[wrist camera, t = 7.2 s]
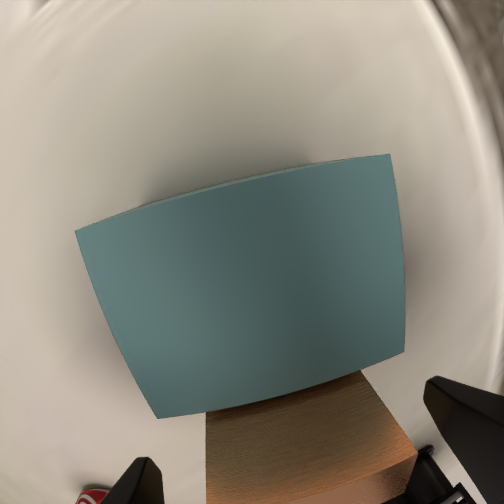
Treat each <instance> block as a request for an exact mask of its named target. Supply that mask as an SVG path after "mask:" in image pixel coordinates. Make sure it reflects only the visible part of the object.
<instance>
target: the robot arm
mask: <svg viewBox="0 0 504 504" xmlns="http://www.w3.org/2000/svg"><path fill="white" fill-rule="evenodd" d="M423 400H424V403H425V405H426V407H427V409H428V411H429V413H430V414H431V416H432V418H433V420H434V422H435V424H436V426H437V428H438V430H439V431H440V433H441V435H442V437H443V438H444V440H445V441H446V442H447V444H448V445H449V447H450V448H451V450H452V451H453V453H454V454H455V456H456V457H457V458H458V460H459V461H460V463H461V464H462V466H463V467H464V469H465V470H466V472H467V473H468V475H469V476H470V478H471V479H472V481H473V482H474V484H475V485H476V487H477V488H478V490H479V492H480V493H481V495H482V496H483V498H484V499H485V501H486V502H487V504H504V396H501V395H498V394H494V393H491V392H488V391H484V390H481V389H478V388H475V387H471V386H468V385H465V384H462V383H459V382H456V381H453V380H450V379H447V378H444V377H441V376H434V377H432V378H430V379H429V380H427V381H426V384H425V390H424V395H423ZM433 450H434V447H433V446H432V445H430V446H428V447H426V448H425V449H423V450H421V451H419V452H418V455H417V458H416V461H415V464H414V467H413V470H412V473H411V476H410V478H409V481H408V484H407V486H406V489H405V491H404V493H402V494H400V495H398V496H396V497H394V498H392V499H390V500H388V501H385V502H383V503H381V504H476V502H475V501H474V500H473V498H472V497H471V496H470V494H469V493H468V492H467V491H466V489H465V488H464V487H463V485H462V484H461V483H460V482H459V483H458V484H457V485H456V486H455V487H454V488H453V486H452V485H451V483H450V482H449V480H448V479H447V478H446V476H445V475H444V473H443V472H442V471H441V469H440V468H439V466H438V465H437V464H436V462H435V461H434V459H433V458H432V457H431V455H432V453H433ZM460 497H462V498H463V499H462V500H460V501H459V502H458V503H457V501H456V500H457V499H458V498H460ZM99 504H165V503H164V493H163V482H162V473H161V471H160V469H159V468H158V467H157V466H156V464H155V463H154V462H153V461H152V459H151V458H149V457H138V458H136V459H135V460H134V461H133V463H132V464H131V465H130V466H129V468H128V469H127V470H126V471H125V473H124V474H123V475H122V476H121V478H120V479H119V480H118V481H117V482H116V484H115V485H114V486H113V487H112V489H111V490H110V491H109V492H108V493H107V495H106V496H105V497H104V498H103V499H102V501H101V502H100V503H99Z"/></svg>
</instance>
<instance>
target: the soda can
mask: <svg viewBox="0 0 504 504" xmlns="http://www.w3.org/2000/svg"><path fill="white" fill-rule="evenodd" d="M109 491H110V490H107V489H101V488H95V489H87V490H83V491H81V493H80V495H79V497H78V499H77V501H76V504H99V503H100V502H101V501H102V499H103V498H104V497H105V496H106V495H107V493H108V492H109Z"/></svg>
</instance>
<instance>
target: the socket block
mask: <svg viewBox="0 0 504 504" xmlns="http://www.w3.org/2000/svg"><path fill="white" fill-rule="evenodd" d="M75 234H76V237H77V240H78V244H79V247H80V250H81V253H82V256H83V259H84V262H85V265H86V268H87V271H88V274H89V277H90V279H91V282H92V285H93V288H94V290H95V293H96V295H97V298H98V300H99V303H100V306H101V308H102V310H103V313H104V315H105V318H106V320H107V322H108V325H109V327H110V329H111V331H112V334H113V336H114V338H115V340H116V342H117V345H118V347H119V349H120V351H121V353H122V355H123V357H124V359H125V361H126V363H127V365H128V367H129V369H130V371H131V373H132V375H133V377H134V379H135V380H136V382H137V384H138V386H139V388H140V390H141V392H142V393H143V395H144V397H145V399H146V400H147V402H148V404H149V406H150V407H151V409H152V411H153V412H154V414H155V416H156V417H157V419H160V418H169V417H176V416H184V415H190V414H197V413H203V412H208V411H214V410H219V409H225V408H230V407H234V406H239V405H244V404H248V403H252V402H257V401H261V400H265V399H269V398H273V397H277V396H280V395H284V394H288V393H291V392H295V391H298V390H302V389H305V388H308V387H312V386H315V385H318V384H321V383H324V382H327V381H330V380H333V379H336V378H339V377H342V376H345V375H347V374H350V373H353V372H356V371H358V370H361V369H364V368H366V367H369V366H371V365H374V364H376V363H379V362H381V361H384V360H386V359H388V358H391V357H393V356H395V355H398V354H400V353H402V352H404V342H405V279H404V259H403V245H402V234H401V224H400V215H399V207H398V199H397V192H396V185H395V179H394V173H393V167H392V162H391V157H390V154H384V155H375V156H366V157H358V158H350V159H342V160H334V161H327V162H320V163H314V164H308V165H303V166H298V167H293V168H288V169H283V170H279V171H274V172H269V173H265V174H260V175H256V176H251V177H247V178H243V179H238V180H234V181H230V182H226V183H222V184H218V185H214V186H210V187H206V188H202V189H199V190H195V191H191V192H187V193H184V194H180V195H177V196H173V197H170V198H166V199H163V200H159V201H156V202H152V203H149V204H146V205H142V206H139V207H136V208H134V209H131V210H128V211H125V212H122V213H120V214H117V215H114V216H112V217H109V218H106V219H104V220H101V221H99V222H96V223H93V224H91V225H88V226H86V227H83V228H81V229H78V230H76V231H75Z"/></svg>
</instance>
